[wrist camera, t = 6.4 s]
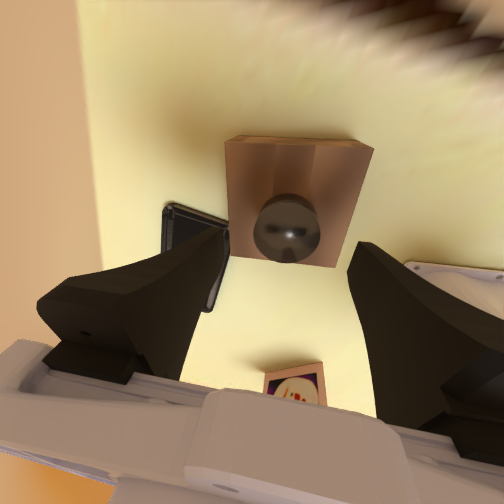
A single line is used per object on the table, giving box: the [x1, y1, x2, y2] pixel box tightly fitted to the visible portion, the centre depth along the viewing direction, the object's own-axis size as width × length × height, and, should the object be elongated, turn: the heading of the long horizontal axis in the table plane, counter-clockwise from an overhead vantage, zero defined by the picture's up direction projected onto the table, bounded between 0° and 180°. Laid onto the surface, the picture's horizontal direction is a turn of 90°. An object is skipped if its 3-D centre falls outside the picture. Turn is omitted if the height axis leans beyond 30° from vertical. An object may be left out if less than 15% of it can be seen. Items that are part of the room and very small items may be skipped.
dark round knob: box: [253, 193, 321, 263], centre depth 15 cm, size 4×4×7 cm
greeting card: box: [263, 362, 327, 406], centre depth 30 cm, size 11×7×15 cm, turn 128°
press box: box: [225, 136, 374, 268], centre depth 17 cm, size 9×9×4 cm
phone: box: [161, 203, 230, 313], centre depth 25 cm, size 8×1×15 cm
